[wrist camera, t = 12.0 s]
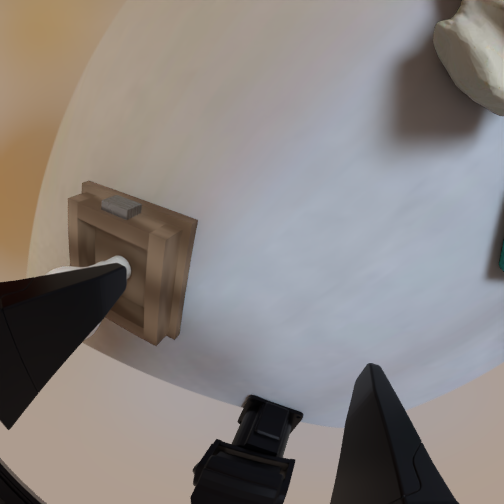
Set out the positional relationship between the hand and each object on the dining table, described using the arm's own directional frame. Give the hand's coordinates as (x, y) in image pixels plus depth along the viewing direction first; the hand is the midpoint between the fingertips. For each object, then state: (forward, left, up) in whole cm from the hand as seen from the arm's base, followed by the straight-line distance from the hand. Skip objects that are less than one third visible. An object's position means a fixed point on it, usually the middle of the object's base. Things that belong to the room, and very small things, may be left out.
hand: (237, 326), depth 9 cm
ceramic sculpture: (+19, -10, -14) cm, 25 cm away
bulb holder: (-10, +14, -13) cm, 22 cm away
